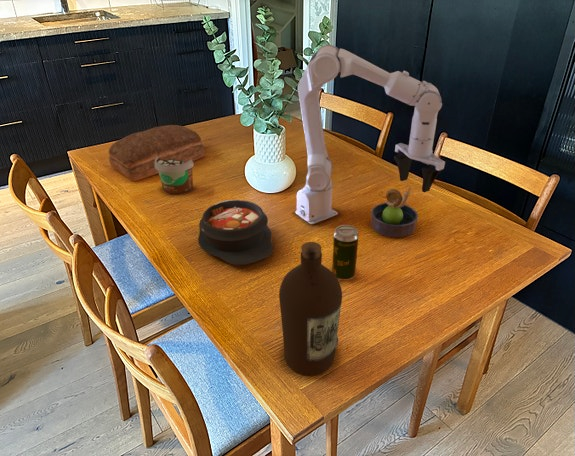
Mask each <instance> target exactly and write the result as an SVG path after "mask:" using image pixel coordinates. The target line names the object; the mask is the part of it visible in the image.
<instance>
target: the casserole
mask: <svg viewBox="0 0 575 456" xmlns="http://www.w3.org/2000/svg"><path fill="white" fill-rule="evenodd" d="M268 221H269V219H268V216H267V214H266V213H265V212H264V210H263V208H261V206H260V205H258V204H257V203H254V202H252V201H249V200H243V199H230V200H224V201H220V202H217V203H214V204H212V205H210V206H209V207H207V209H206V210H205V211H204V212H203V214H202V217H201V218H200V220H199V224H198V225H199V233H198V237H197V241H198V245H199V247H200V248H201V249H202V251H204V252H205V253H206V254H208V255H211V256H214V257H217V258H219V259H221V260H224V261H225V262H226V263H228V264H230V265H235V266H243V265H249V264H253V263H257V262H259V261H262V260H265V259H266V258H267V257H269V256H270V255H272V254H273V251H274V250H275V248H274V245H273V241H272V231H271V228H270V227H269V226H268Z"/></svg>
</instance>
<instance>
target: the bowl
mask: <svg viewBox="0 0 575 456" xmlns="http://www.w3.org/2000/svg"><path fill="white" fill-rule="evenodd" d="M386 207H388V205H387V203H386V202H381V203H379V204H378V203H377V204H375V206H373V207H372V209H371V211H370V220H369V223H370V227H371V228H372V230H373V231H375V232H376V233H378V234H380V235H382V236H384V237H387V238H392V239H393V238H395V239H398V238H405V237H409V236H411V235H413V234H414V233H415V232H416V230H417V225H418V219H419V215H418V211H416V209H414V208H413V207H411V206H410V205H407V204H405V205H404V206H403V207H401V208H400V209H401V210H402V212H403V219H402V221H401V222H400V223H399V224H398V225H392V224H387V223H385V222H384V221H383V218H382V213H383V211H384V209H385V208H386Z"/></svg>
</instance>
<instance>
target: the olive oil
mask: <svg viewBox="0 0 575 456" xmlns="http://www.w3.org/2000/svg"><path fill="white" fill-rule="evenodd" d="M300 249H301V252H300V263H299V264H298V265H297V266H294V267H293V268H292V269H290V270H289V271H288V272H287V273H286V274H285V276H284V277H283V279H282V281H281V283H280V286H279V292H278V300H279V308H280V319H281V328H282V330H281V331H282V340H283V357H284V361H285V363H286V364H287V366H288V368H289V369H291V370H292V371H293V372H295V373H297V374H299V375H303V376H311V377H312V376H317V375H321V374H323V373H325V372H327V371H328V370H329V369H330V368H332V366H333V364H334V361H335V358H336V349H337V347H338V345H339V337H338V331H339V324H340V317H341V310H342V303H343V290H342V286H341V283H340V280H338V279H337V277H336V276H335V274H334V273H333V272H332V270H330V269H329V268H328V267H327V266H325V265H323V264H322V262H323V261H322V260H323V253H322V245H321V244H320V243H319V242H316V241H306V242H304V243H303V244H301V248H300Z"/></svg>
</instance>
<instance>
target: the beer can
mask: <svg viewBox="0 0 575 456" xmlns="http://www.w3.org/2000/svg"><path fill="white" fill-rule="evenodd" d="M332 243H333V245H332V261H331V262H332V263H331V271H332V272H333V273H334V274H335V276H336V277H337V279H338V281H341V282H347V281H350V280H352V279H353V278H354V277H355V275H356V272H357V271H356V269H357V261H358V260H357V259H358V257H357V256H358V247H359V231H358V229H357V228H356V227H355V226H353V225H350V224H341V225H338V226H337V227H336V228H334V232H333V242H332Z"/></svg>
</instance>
